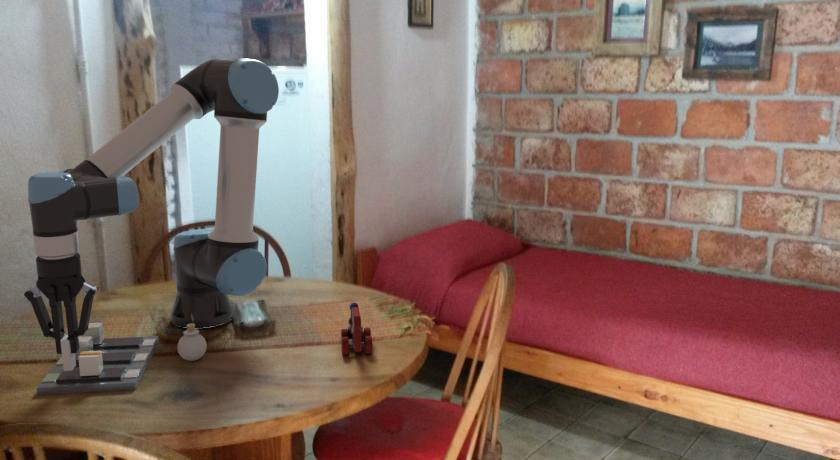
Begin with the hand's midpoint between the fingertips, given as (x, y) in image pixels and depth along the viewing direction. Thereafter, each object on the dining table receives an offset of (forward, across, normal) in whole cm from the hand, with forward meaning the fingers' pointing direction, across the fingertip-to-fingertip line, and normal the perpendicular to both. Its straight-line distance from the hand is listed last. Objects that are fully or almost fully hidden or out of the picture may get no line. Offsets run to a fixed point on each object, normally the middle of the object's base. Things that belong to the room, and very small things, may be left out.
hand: (69, 367), depth 135 cm
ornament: (+4, -22, -10) cm, 24 cm away
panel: (+4, -4, -8) cm, 10 cm away
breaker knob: (+1, -4, 0) cm, 4 cm away
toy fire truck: (+4, -58, -11) cm, 59 cm away
